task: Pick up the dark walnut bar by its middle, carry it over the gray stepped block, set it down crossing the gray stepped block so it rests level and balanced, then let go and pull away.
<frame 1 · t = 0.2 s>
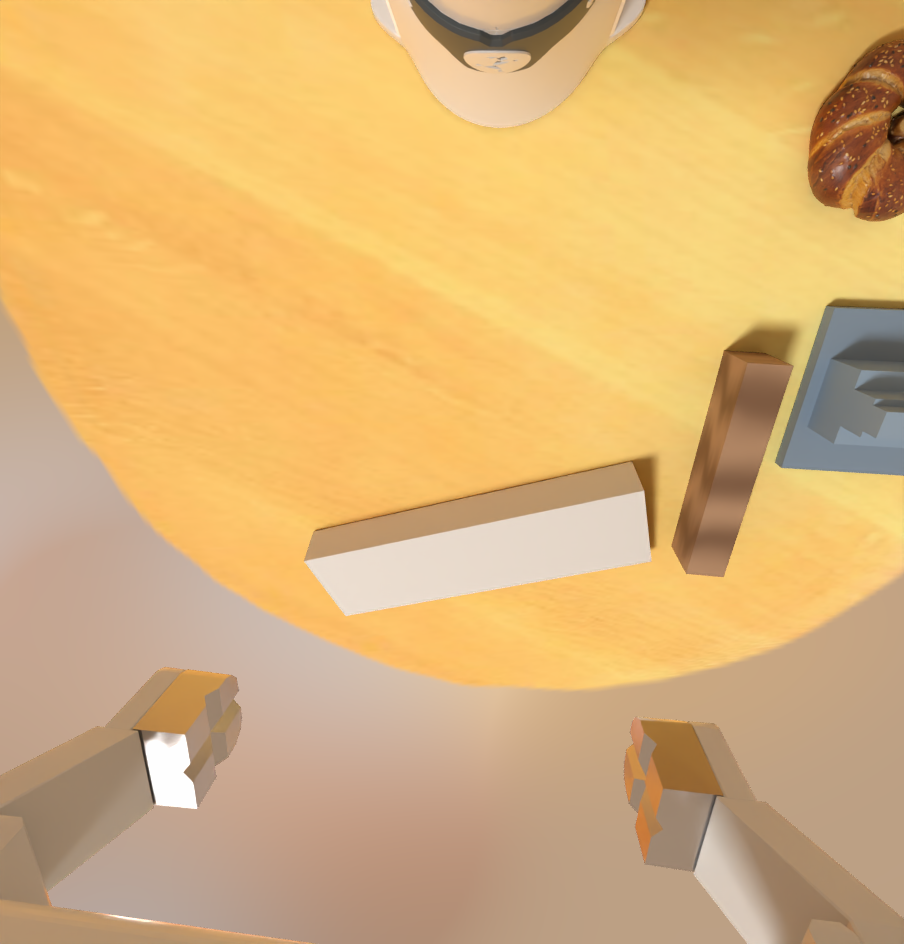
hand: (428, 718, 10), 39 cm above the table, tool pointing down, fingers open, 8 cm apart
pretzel: (886, 131, 36), on the table
beige long block: (476, 537, 55), on the table
walnut bar: (713, 457, 48), on the table
gray stepped block: (865, 392, 44), on the table
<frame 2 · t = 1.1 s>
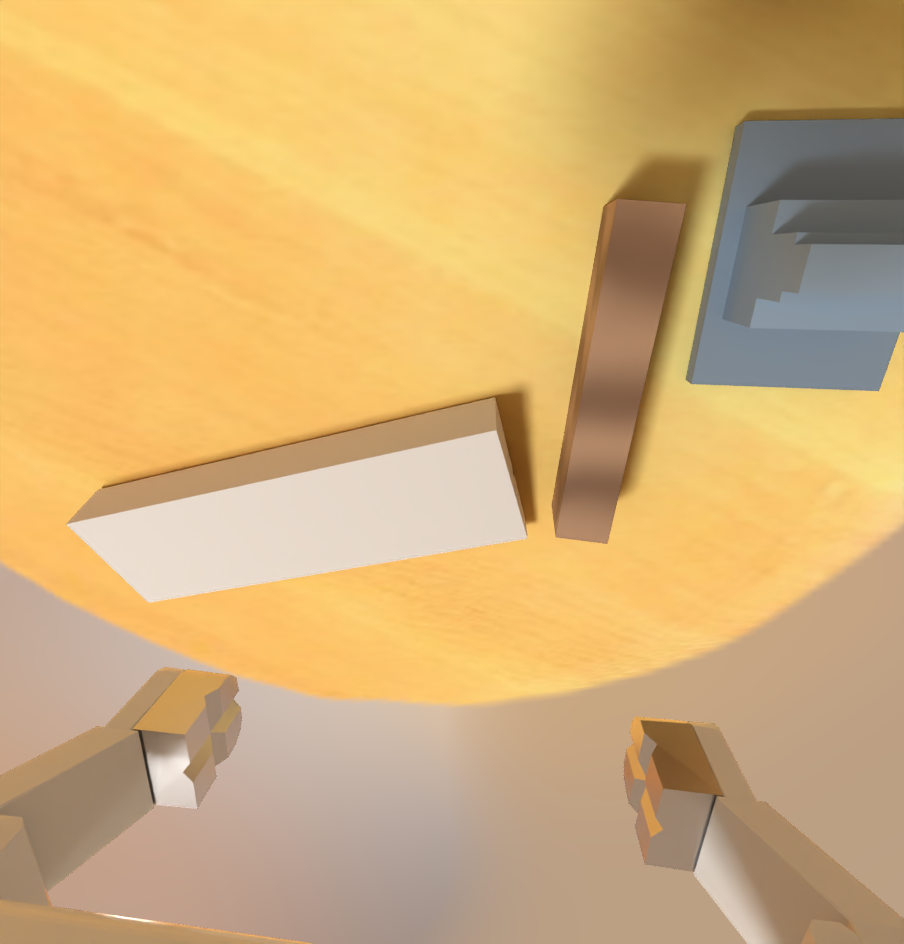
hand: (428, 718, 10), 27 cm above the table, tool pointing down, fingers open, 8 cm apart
beige long block: (309, 502, 42), on the table
walnut bar: (599, 375, 34), on the table
gray stepped block: (806, 265, 30), on the table
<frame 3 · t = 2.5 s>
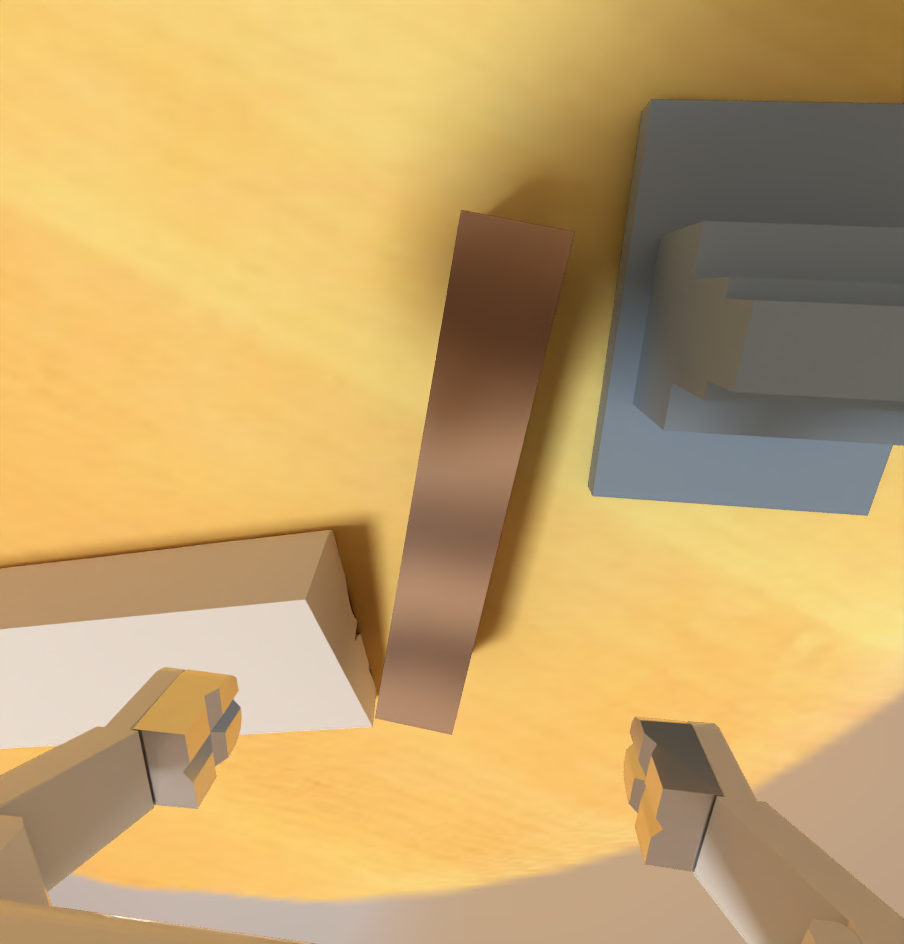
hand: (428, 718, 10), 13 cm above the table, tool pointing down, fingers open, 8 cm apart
beige long block: (79, 638, 29), on the table
walnut bar: (464, 474, 23), on the table
gray stepped block: (755, 328, 20), on the table
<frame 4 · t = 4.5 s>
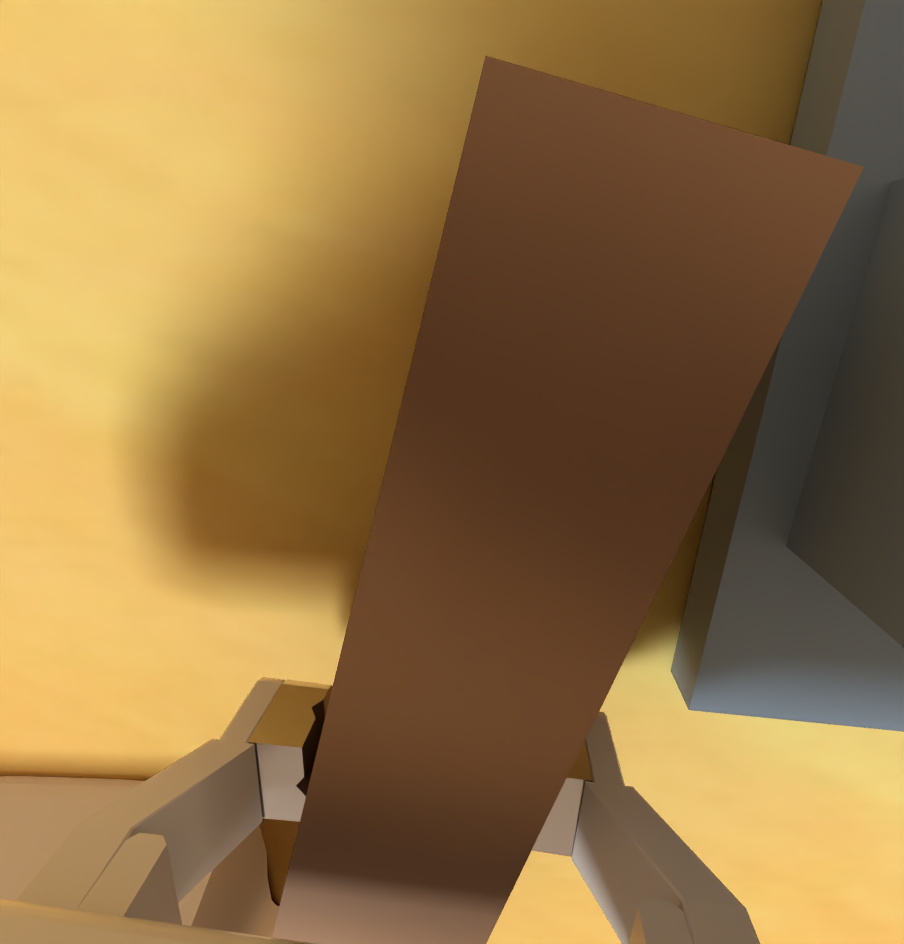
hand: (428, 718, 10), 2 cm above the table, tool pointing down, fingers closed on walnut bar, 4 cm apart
walnut bar: (441, 647, 12), on the table, touching gripper
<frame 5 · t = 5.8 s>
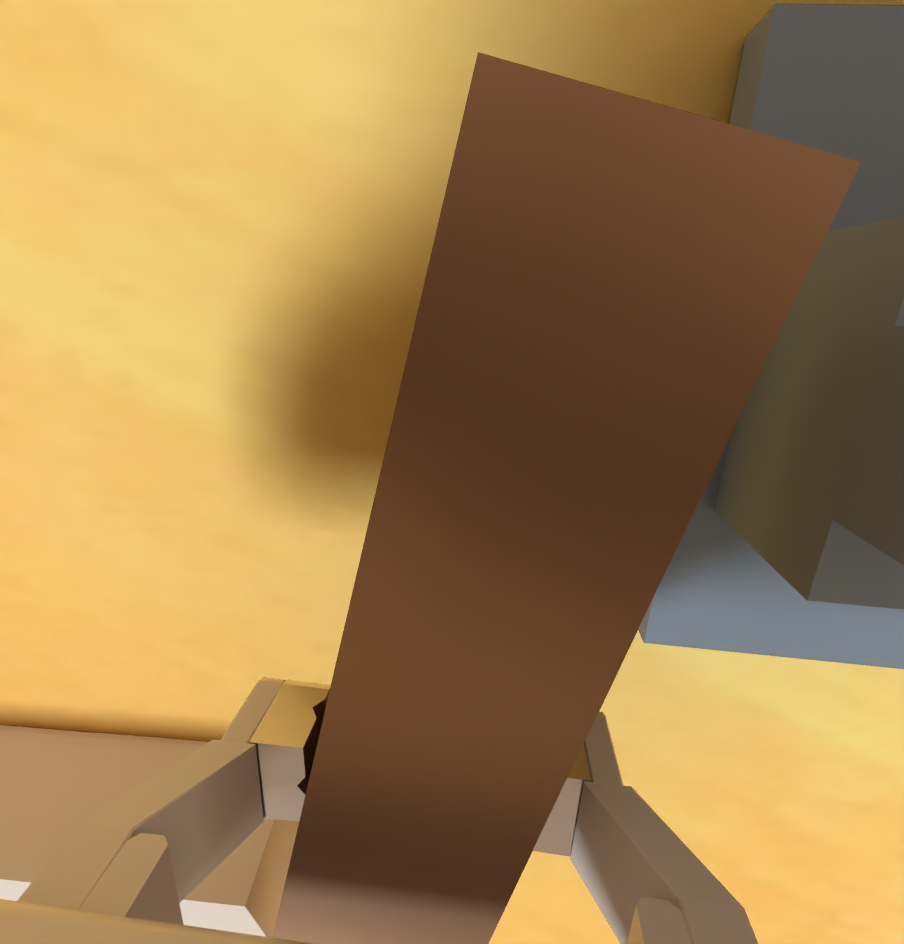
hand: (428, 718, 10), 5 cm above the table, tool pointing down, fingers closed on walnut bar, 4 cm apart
walnut bar: (441, 648, 12), point 3 cm above the table, touching gripper
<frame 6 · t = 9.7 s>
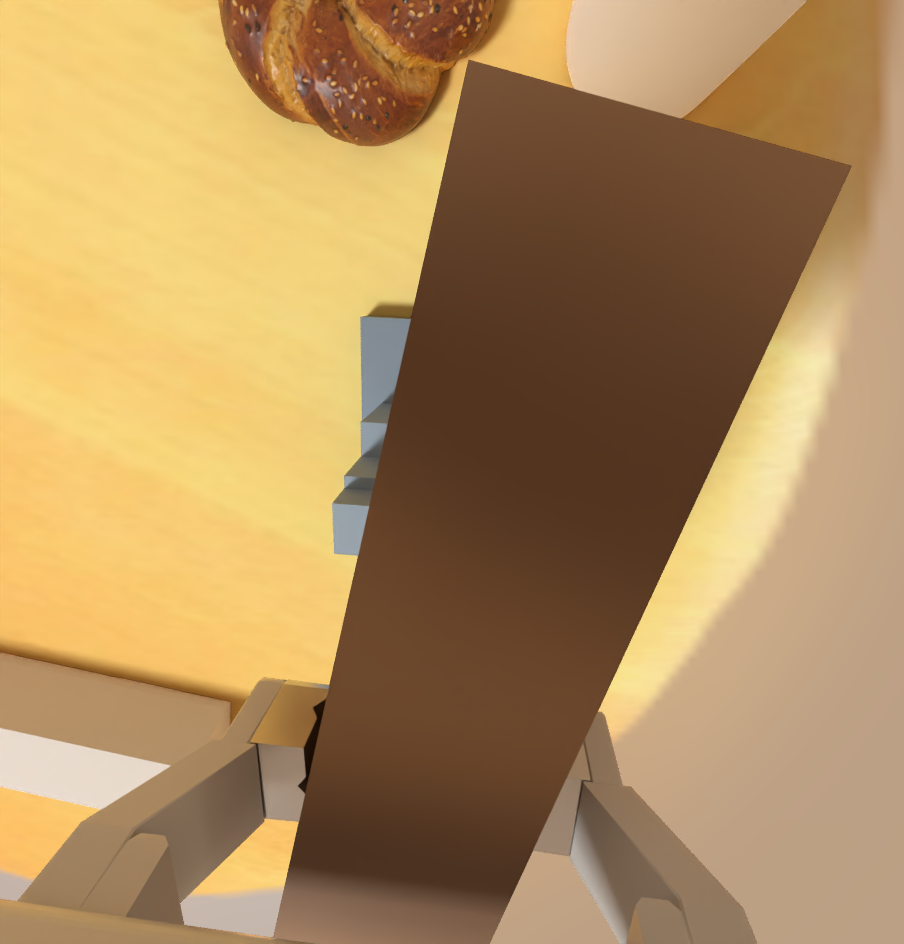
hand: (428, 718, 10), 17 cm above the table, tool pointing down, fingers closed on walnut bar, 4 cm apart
beige long block: (7, 700, 37), on the table
can: (644, 44, 20), on the table
walnut bar: (440, 651, 12), point 15 cm above the table, touching gripper
gray stepped block: (471, 459, 27), on the table
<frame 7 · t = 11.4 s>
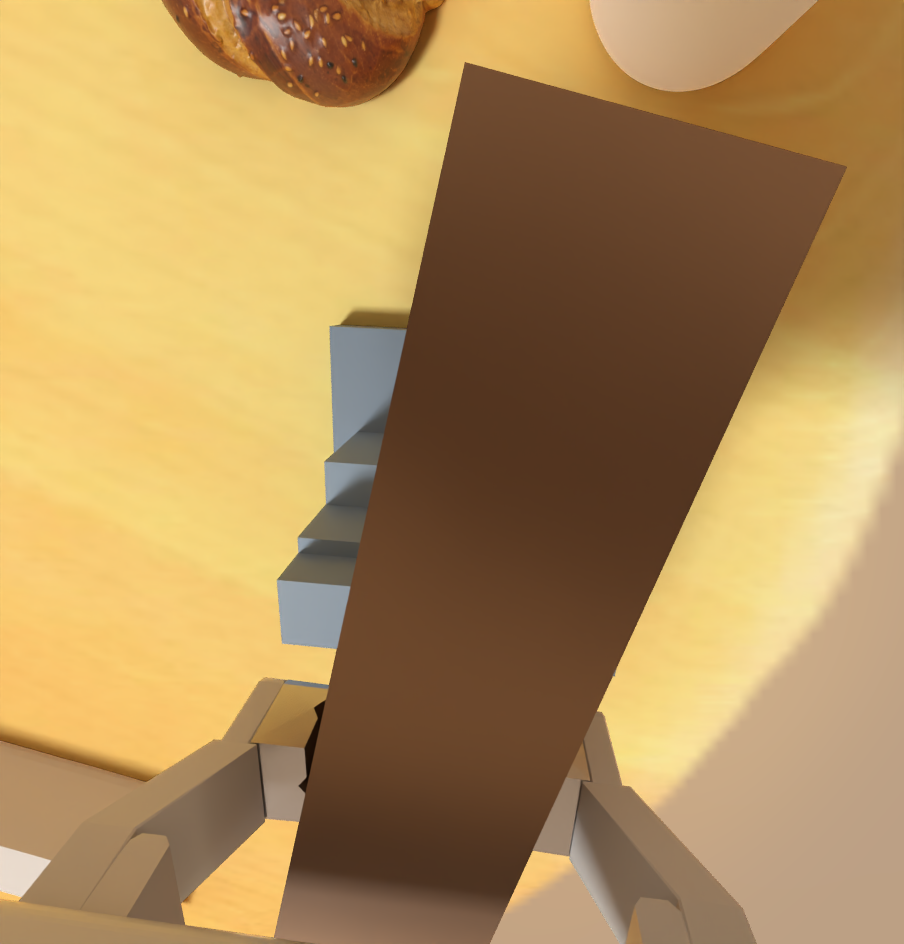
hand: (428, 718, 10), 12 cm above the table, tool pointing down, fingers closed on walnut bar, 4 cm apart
walnut bar: (440, 651, 12), point 10 cm above the table, touching gripper
gray stepped block: (467, 498, 22), on the table
when the fingers open (12 cm above the table, at t = 11.4 s): walnut bar stays where it is, resting on gray stepped block.
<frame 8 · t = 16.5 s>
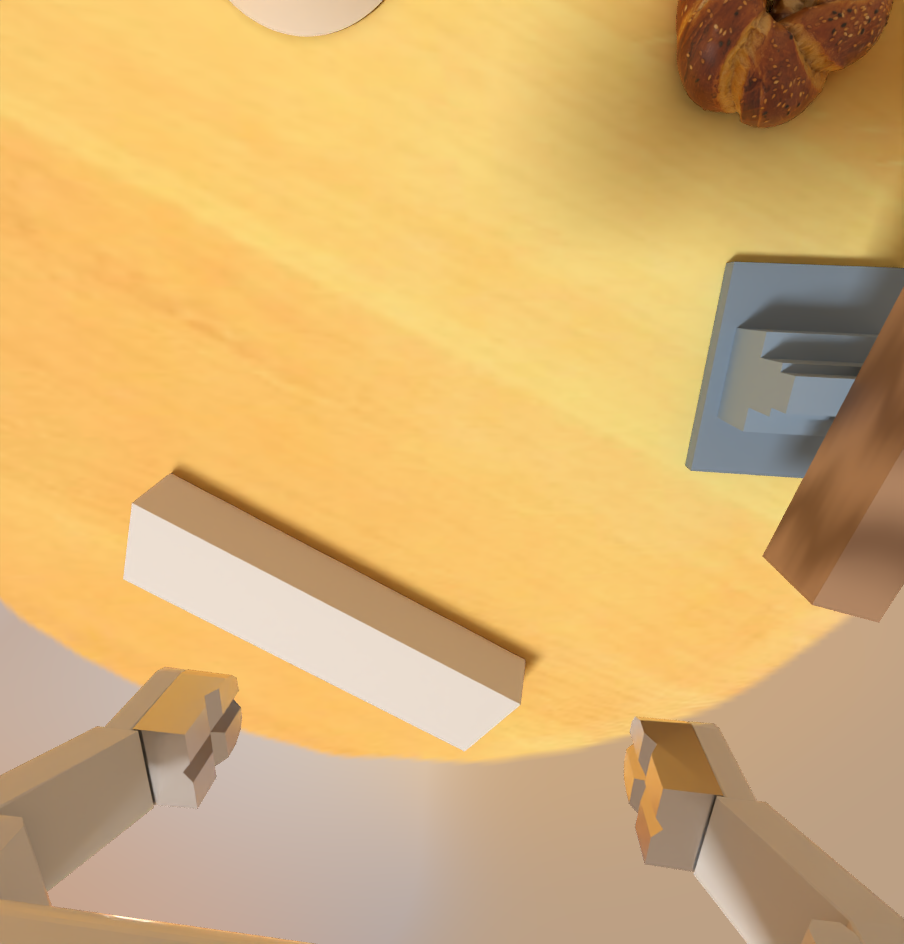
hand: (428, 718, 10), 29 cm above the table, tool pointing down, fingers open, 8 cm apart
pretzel: (770, 18, 29), on the table
beige long block: (331, 608, 46), on the table
walnut bar: (879, 400, 26), point 9 cm above the table, touching gray stepped block
gray stepped block: (786, 375, 35), on the table
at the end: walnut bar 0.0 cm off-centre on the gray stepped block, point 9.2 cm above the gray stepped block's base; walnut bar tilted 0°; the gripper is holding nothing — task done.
